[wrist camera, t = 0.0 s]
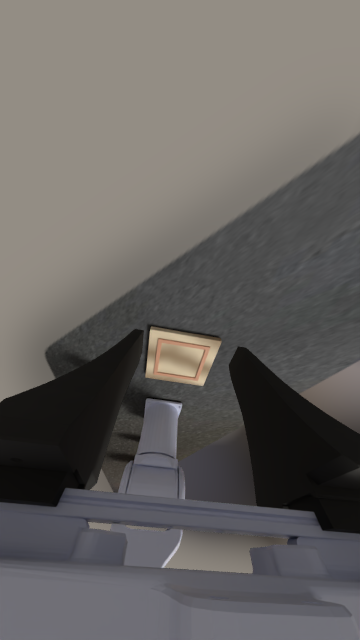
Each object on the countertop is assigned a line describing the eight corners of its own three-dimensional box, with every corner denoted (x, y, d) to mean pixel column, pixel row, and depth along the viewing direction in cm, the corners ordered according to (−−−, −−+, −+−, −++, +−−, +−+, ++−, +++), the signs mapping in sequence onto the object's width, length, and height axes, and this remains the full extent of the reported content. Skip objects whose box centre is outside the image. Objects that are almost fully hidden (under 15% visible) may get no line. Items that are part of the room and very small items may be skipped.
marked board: (202, 382, 28) (203, 386, 27) (146, 373, 28) (145, 378, 27) (220, 338, 23) (221, 342, 22) (151, 326, 22) (149, 330, 21)
